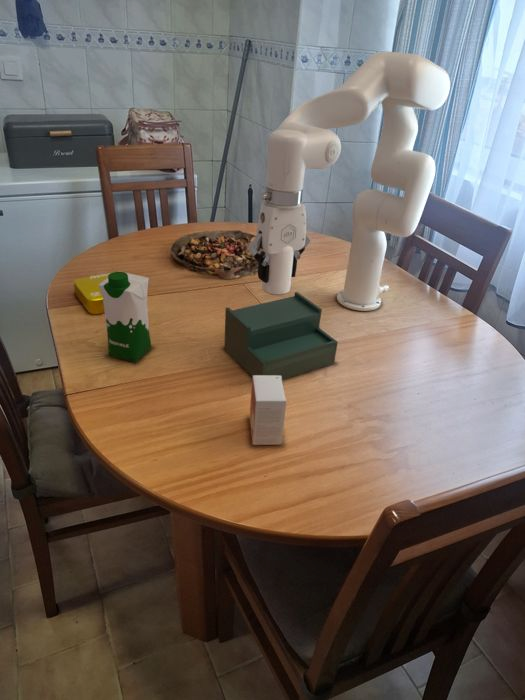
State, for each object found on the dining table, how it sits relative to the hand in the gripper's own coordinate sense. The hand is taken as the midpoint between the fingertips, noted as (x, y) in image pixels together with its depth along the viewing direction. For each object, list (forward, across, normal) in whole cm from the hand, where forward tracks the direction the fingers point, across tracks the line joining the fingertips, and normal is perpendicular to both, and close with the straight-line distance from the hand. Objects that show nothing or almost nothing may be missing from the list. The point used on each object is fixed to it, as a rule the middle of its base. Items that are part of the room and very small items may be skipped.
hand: (276, 276), depth 113 cm
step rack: (+19, 0, -4) cm, 19 cm away
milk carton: (+19, -30, +14) cm, 38 cm away
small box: (+19, -17, -24) cm, 35 cm away
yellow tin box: (+19, -26, +42) cm, 53 cm away
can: (+3, 0, 0) cm, 3 cm away
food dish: (+19, +16, +56) cm, 61 cm away
